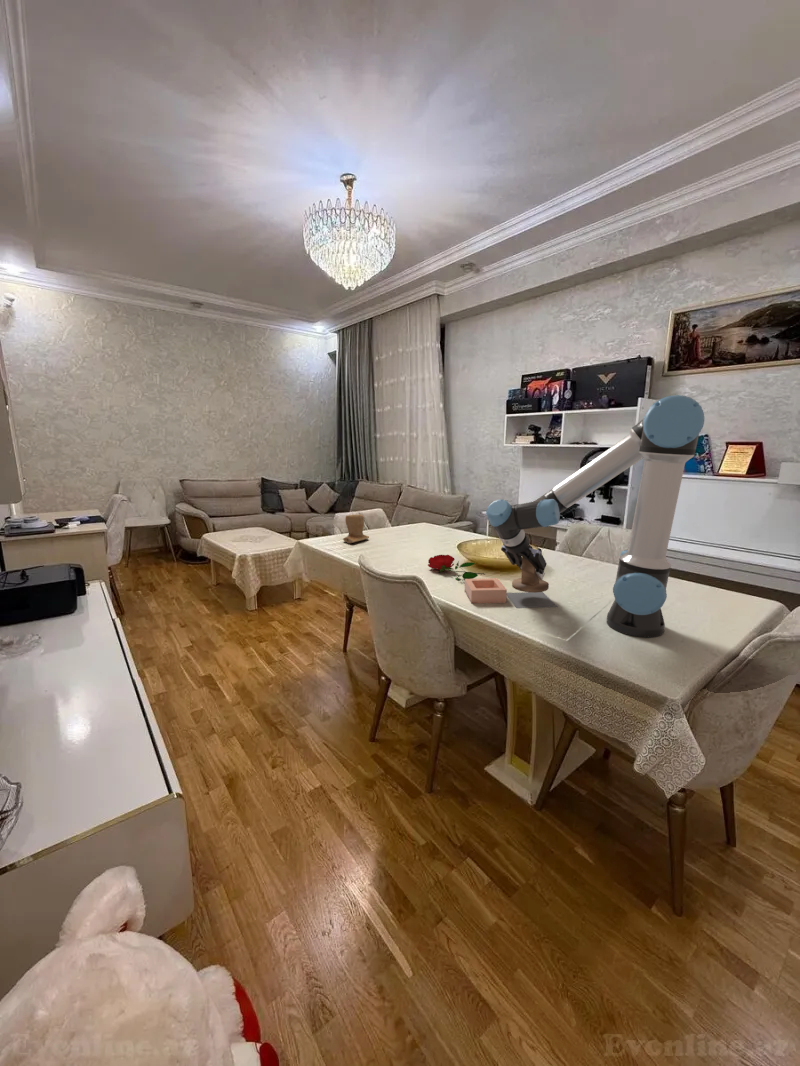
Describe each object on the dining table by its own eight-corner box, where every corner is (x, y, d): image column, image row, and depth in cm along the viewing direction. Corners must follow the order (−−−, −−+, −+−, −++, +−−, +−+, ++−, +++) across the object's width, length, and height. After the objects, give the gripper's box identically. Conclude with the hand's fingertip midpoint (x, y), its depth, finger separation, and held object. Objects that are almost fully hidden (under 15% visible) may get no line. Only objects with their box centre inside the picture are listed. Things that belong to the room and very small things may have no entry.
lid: (554, 585, 148) (556, 554, 146) (538, 595, 139) (540, 561, 137) (522, 578, 156) (523, 548, 154) (505, 587, 147) (506, 555, 145)
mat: (558, 608, 142) (558, 607, 142) (516, 609, 142) (516, 608, 142) (542, 593, 156) (542, 592, 156) (504, 593, 155) (504, 592, 155)
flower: (489, 555, 164) (431, 547, 185) (476, 571, 159) (418, 561, 181) (496, 573, 168) (439, 563, 190) (483, 589, 163) (426, 577, 185)
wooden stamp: (356, 537, 245) (355, 511, 242) (372, 539, 238) (371, 513, 235) (337, 542, 234) (336, 515, 230) (353, 545, 226) (352, 517, 223)
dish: (506, 603, 146) (506, 589, 145) (471, 604, 146) (471, 590, 145) (496, 591, 158) (497, 578, 157) (464, 591, 158) (464, 578, 157)
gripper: (484, 543, 139) (508, 579, 154) (535, 551, 127) (556, 589, 143) (493, 525, 142) (516, 562, 157) (544, 531, 130) (563, 570, 145)
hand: (535, 575), depth 150 cm, fingers closed on lid, 4 cm apart
